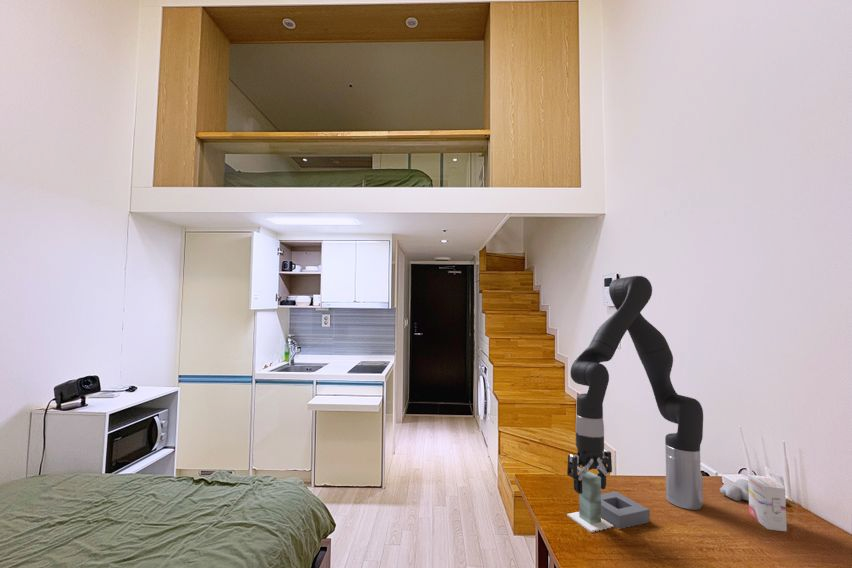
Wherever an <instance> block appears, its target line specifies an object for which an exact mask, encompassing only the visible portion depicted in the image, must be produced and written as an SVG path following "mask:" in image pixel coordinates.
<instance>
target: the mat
mask: <svg viewBox="0 0 852 568" xmlns="http://www.w3.org/2000/svg"><path fill="white" fill-rule="evenodd" d="M566 516H567V517H568V518H569V519H571V520H572V521H573V522H575V523H576V524H578V525H580V526H581V527H582V528H584V529H585V530H587V531H588V532H589V533H590V534H591V533H596V532H599V530H600V531H603V529H605V530H608V529H607V528H609V529H612V528H611V527H613V528H614V526H613V525H612V524H610V523H609V522H607V521H606V520H604V519H602V518H601V522H598V523H594V524H589V523H587V522H586V521H585V520H583V519H582V518H580V517H579V511H576V512H571V513H566ZM595 531H596V532H595Z"/></svg>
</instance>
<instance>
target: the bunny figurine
mask: <svg viewBox="0 0 852 568" xmlns="http://www.w3.org/2000/svg"><path fill="white" fill-rule="evenodd" d="M719 493H721V494H722V495H724V496H726V497H728V498H729V499H732V500H734V501H735V502H739V501H741V500H744V501H748V502H749V487H748V479H743V478H742V479H741V478H739V479H737V480H736V481H728V480H726V481H723V484H722V486H721V487H719Z"/></svg>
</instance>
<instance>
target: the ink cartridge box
mask: <svg viewBox="0 0 852 568" xmlns="http://www.w3.org/2000/svg"><path fill="white" fill-rule="evenodd" d="M764 474H765V476H764V475H756V474H747V481H748V487H749V501H748V513H749V515H750V517H752V518H754V520H755V521H757V522H758V523H760V524H761V525H762V527H764V528H765V529H767V530H770V531H771V530H772V531H779V532H787V531H788V530H787V529H788V527H787V509H786V507H787V504H786V489H785V483H784V481H785V480H784V477H783V476H782V475H781V474H780V473H777V472H775V471H774V470H772V469H770V468H769V467H767V466H766V465H764ZM773 475H774V476H773ZM775 477H776V478H775Z"/></svg>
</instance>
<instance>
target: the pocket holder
mask: <svg viewBox="0 0 852 568" xmlns="http://www.w3.org/2000/svg"><path fill="white" fill-rule="evenodd" d="M601 517H602V518H604V519H605V520H606V521H608V522H609V523H611V524H612V525H614V526H613V527H615V528H616V527H617V528H616V529H618V528H619V529H618V530H622V529H621V528H624V529H626V527H628V528H632V527H636V526H640V525H643V524H648V523H650V509H649V508H647V507H646V506H644V505H642V504H640V503H639V502H636V501H634V500H633V499H630V498H629V497H627V496H625V495H623V494H621V493H620V492H617V491H616V490H615V491H614V490H613V491H611V492H606V493H605V492H604V493H601ZM635 525H636V526H635ZM631 526H632V527H631Z"/></svg>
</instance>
